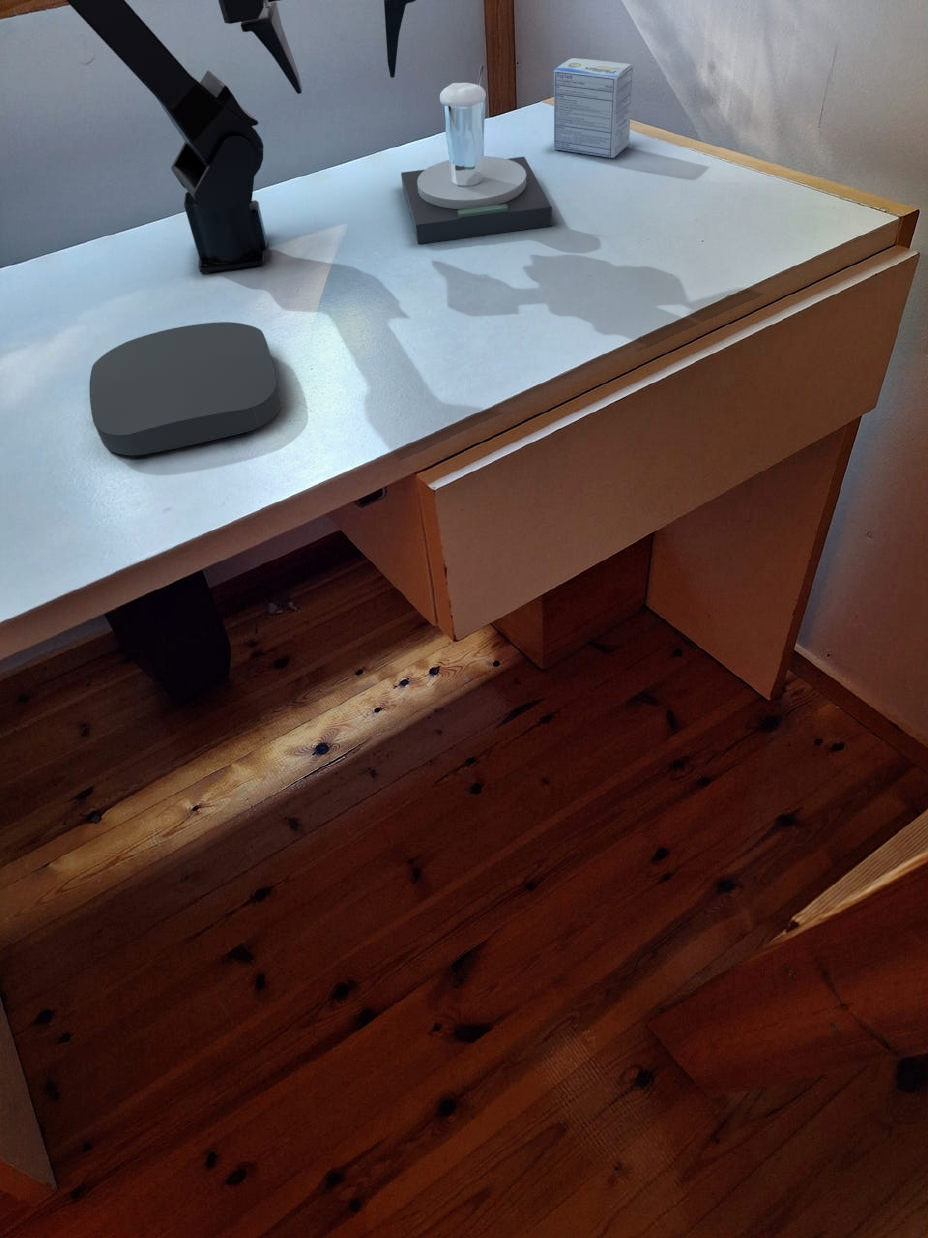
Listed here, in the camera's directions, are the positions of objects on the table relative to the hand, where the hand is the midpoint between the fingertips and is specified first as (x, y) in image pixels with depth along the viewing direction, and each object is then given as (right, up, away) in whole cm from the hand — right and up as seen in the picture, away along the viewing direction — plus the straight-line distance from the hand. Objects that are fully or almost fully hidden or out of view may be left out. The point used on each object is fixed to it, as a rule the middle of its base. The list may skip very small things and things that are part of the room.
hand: (346, 84), depth 88 cm
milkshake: (+12, -6, +8) cm, 15 cm away
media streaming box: (-11, -34, -12) cm, 38 cm away
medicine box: (+27, +3, +19) cm, 33 cm away
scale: (+13, -8, +10) cm, 18 cm away
